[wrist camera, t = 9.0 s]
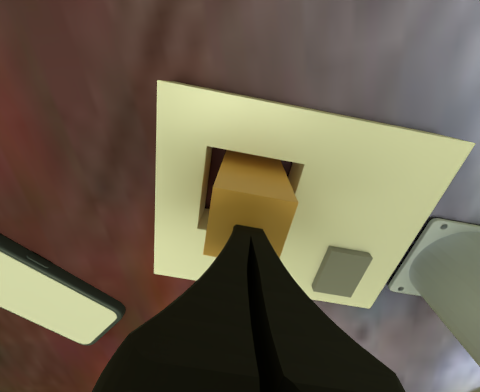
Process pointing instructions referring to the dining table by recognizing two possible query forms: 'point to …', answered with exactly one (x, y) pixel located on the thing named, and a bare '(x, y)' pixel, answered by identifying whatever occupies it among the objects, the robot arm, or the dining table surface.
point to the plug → (250, 200)
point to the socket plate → (301, 186)
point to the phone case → (53, 296)
